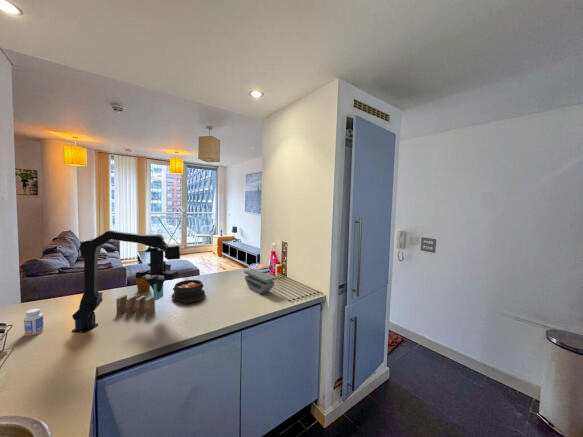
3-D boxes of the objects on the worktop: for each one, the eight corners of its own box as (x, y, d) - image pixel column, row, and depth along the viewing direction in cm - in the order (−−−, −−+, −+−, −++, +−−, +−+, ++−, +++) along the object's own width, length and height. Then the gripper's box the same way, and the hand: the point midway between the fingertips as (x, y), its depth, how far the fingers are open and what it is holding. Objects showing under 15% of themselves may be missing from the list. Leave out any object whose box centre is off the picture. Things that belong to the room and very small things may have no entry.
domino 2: (129, 314, 116) (129, 299, 115) (126, 314, 116) (126, 299, 115) (136, 310, 121) (136, 295, 120) (133, 310, 121) (133, 295, 120)
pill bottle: (43, 327, 102) (42, 306, 102) (44, 332, 99) (43, 310, 98) (24, 332, 98) (23, 310, 98) (24, 337, 95) (23, 314, 94)
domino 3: (138, 315, 116) (138, 299, 115) (135, 315, 116) (135, 299, 115) (145, 310, 120) (145, 295, 120) (142, 310, 121) (142, 295, 120)
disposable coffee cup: (144, 293, 142) (143, 274, 141) (131, 292, 144) (130, 273, 143) (155, 288, 152) (155, 270, 151) (143, 287, 153) (143, 269, 153)
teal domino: (156, 300, 111) (156, 284, 111) (153, 300, 112) (153, 284, 111) (163, 296, 116) (163, 280, 116) (160, 296, 117) (160, 280, 116)
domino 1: (119, 314, 116) (119, 298, 115) (116, 314, 116) (116, 298, 116) (127, 309, 121) (127, 295, 120) (124, 309, 121) (124, 294, 121)
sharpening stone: (244, 286, 160) (244, 270, 159) (253, 283, 165) (253, 268, 165) (265, 297, 142) (265, 280, 141) (275, 294, 147) (275, 277, 146)
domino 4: (148, 315, 115) (148, 300, 115) (145, 315, 115) (145, 300, 115) (154, 311, 120) (154, 296, 120) (152, 311, 120) (151, 296, 120)
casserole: (211, 300, 135) (211, 286, 135) (176, 308, 124) (176, 293, 123) (198, 287, 155) (198, 275, 154) (167, 294, 143) (167, 280, 143)
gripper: (184, 257, 119) (184, 286, 120) (149, 256, 121) (150, 285, 122) (171, 262, 108) (171, 295, 109) (133, 261, 109) (134, 293, 110)
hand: (157, 291), depth 113 cm, fingers closed on teal domino, 2 cm apart
